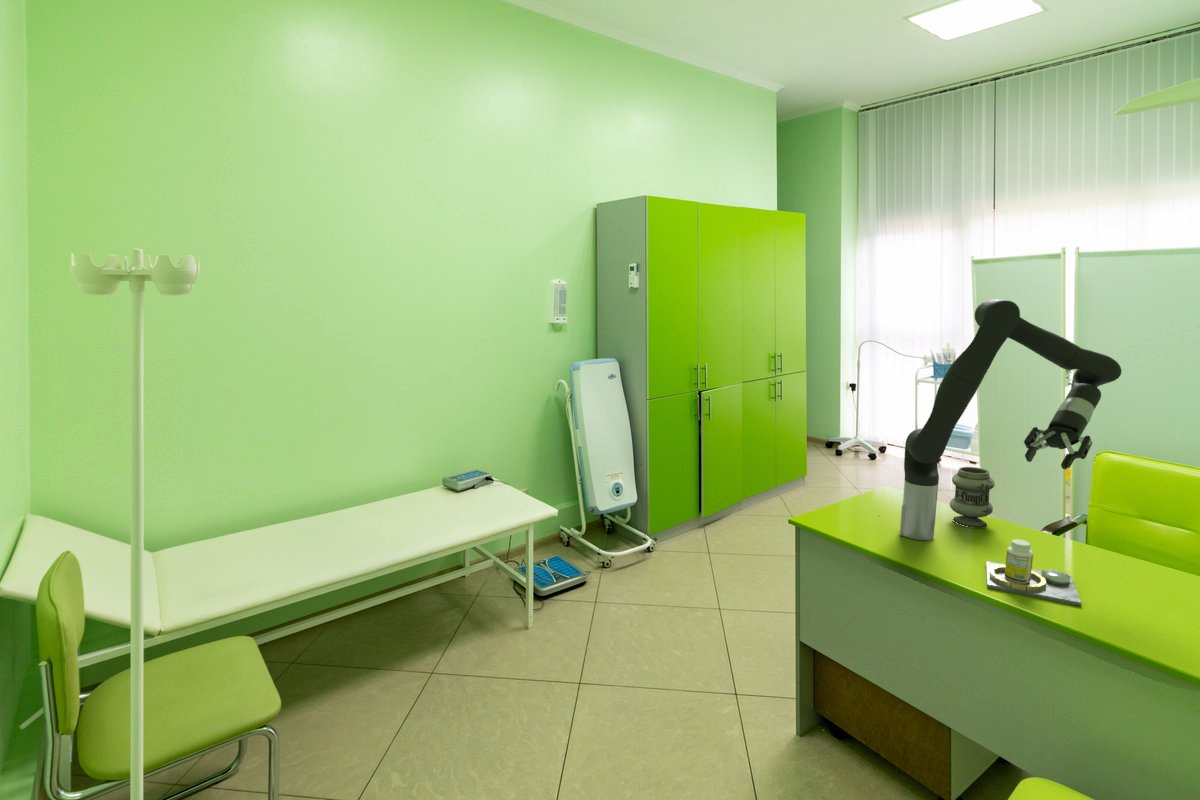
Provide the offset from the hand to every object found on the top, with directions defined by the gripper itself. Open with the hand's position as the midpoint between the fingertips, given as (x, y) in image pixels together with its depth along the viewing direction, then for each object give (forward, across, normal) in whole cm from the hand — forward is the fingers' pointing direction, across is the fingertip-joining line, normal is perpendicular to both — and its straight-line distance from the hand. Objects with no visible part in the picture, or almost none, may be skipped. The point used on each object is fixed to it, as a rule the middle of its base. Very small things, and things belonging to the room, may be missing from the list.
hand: (1045, 463), depth 165 cm
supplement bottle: (+31, +4, +8) cm, 33 cm away
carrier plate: (+30, +6, +10) cm, 32 cm away
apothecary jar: (+9, -27, +32) cm, 43 cm away
